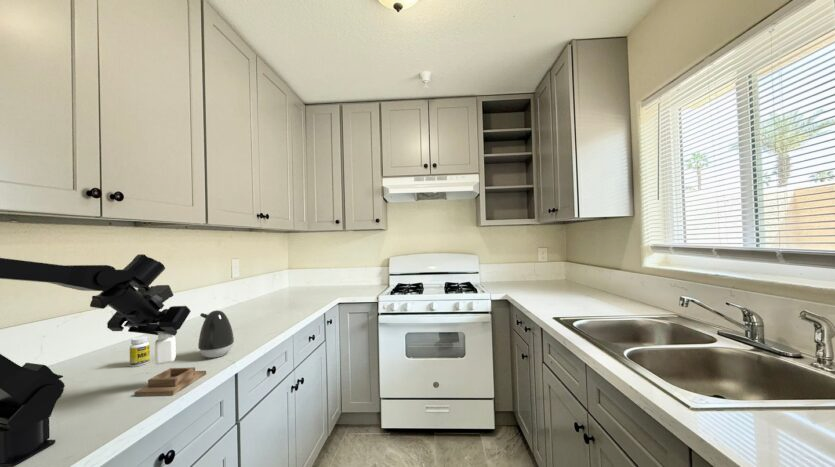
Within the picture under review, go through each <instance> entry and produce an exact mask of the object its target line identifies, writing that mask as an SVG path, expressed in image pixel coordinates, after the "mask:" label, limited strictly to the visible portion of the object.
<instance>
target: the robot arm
mask: <svg viewBox="0 0 835 467" xmlns="http://www.w3.org/2000/svg"><path fill="white" fill-rule="evenodd" d="M165 270H166V267H165V265H164V264H163V263H162V262H160V261H158V260H156V259H154V258H152V257H148V256H147V255H146V254H143V253H142V254H137V255H135V257H134V258H133V259H132V260H131V262H129V264H127V265H126V266H125V267H124V268H123V269H116V268H115V267H114V266H112V265H109V264H108V265H107V264H80V265H77V264H75V265H73V264H72V265H71V264H70V265H68V264H67V265H63V264H62V265H61V264H55V263H47V262H46V263H45V262H37V261H31V260H30V261H29V260H21V259H13V258H4V257H0V280H11V281H22V282H24V281H25V282H35V283H48V284H52V285H53V284H54V285H57V286H60V287H63V288H68V289H72V290H77V291H86V292H87V291H88V292H89V291H90V292H91V291H92V292H100V293H99V294H97V295H92V296H91V301H90V304H89V307H90V308H93V309H94V308H95V309H101V310H103V309H106V308H107V306H109V308H112V310H114V311H115V313H114V314H113V315H112V317H111V318H109V320H108V321H107V322H106V323H107V324H106V325H107V327H106V328H107V329H109V330H110V331H112V332H122V331H123V330H124V329H125V327H128V330H127V331H128V332H129V333H137V334H144V335H146V334H147V335H154V336H158V333H163V334H168V335H172V337H176V335H177V333H178V330H180V329H181V327H182V326H183V325H184V323H185V321H186V319H187V318H188V317H189V315H190V314H191V309H190V308H189V307H188V306H187V305H174V306H170V307H169V308H164V307H165V304H164V303H165V302H166V301H167V300H169V299H170V298H172V297H174V293H173V291H172V289H171V286H170V285H169V284H158V285H152V283H153V282H154V281H155V280H156V279H157V278H158V277H159V276H160V275H161V274H163V272H164V271H165ZM163 308H164V309H163ZM162 309H163V310H162ZM63 377H64V375H61V374H56V373H54V372H53V371H52V369H51V368H50V367H49V366H47V365H46V364H40V363H33V362H32V363H31V362H25V363H24V364H23V365H22V366H21V365H20V364H17V363H16V362H14V361H12V360H11V359H10V358H8V357H6V356H4V355H3V354H2V353H0V467H13V466H16V465H18V464H21V463H22V462H23V461H25V460H27V459H29V458H31V457H32V456H34V455H37V454H38V453H39V452H42V451H43V450H45V449H46V448H48V447H50V446H52V445H53V444H55V443H56V439H50V437H51V436H50V434H51V433H50V432H51V430H50V417H51V416H52V413H53V411H54V408H55V407H56V403H57V402H58V401H59V400H60V398H61V397H62V395H63V393H64V389H65V387H66V385H65V383H64V382H63V380H62V378H63Z"/></svg>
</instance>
